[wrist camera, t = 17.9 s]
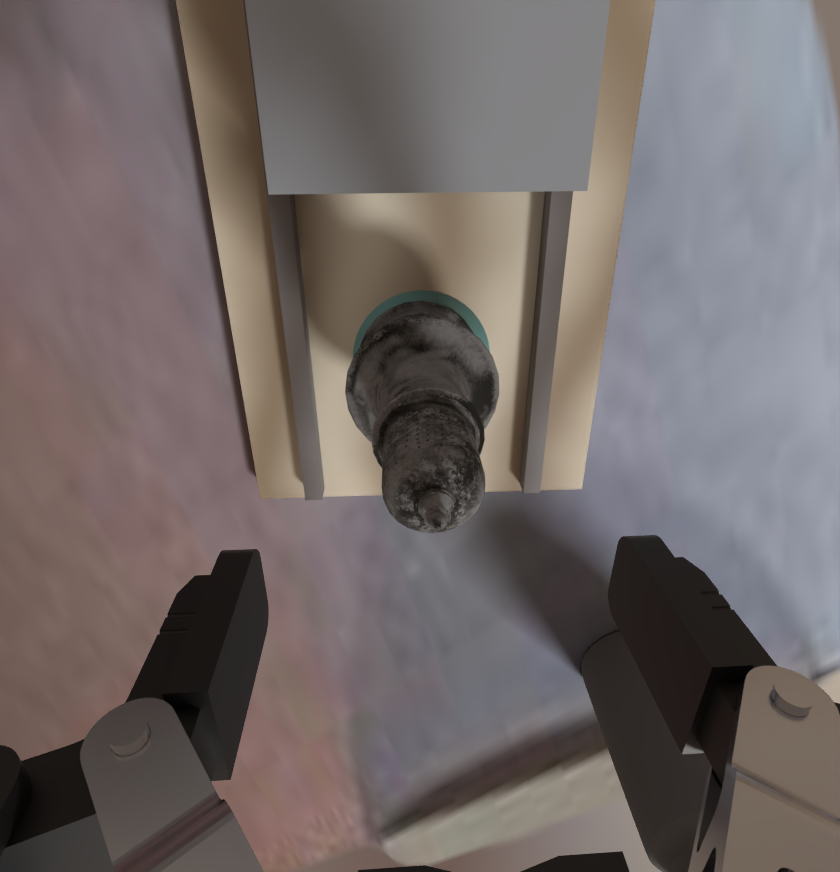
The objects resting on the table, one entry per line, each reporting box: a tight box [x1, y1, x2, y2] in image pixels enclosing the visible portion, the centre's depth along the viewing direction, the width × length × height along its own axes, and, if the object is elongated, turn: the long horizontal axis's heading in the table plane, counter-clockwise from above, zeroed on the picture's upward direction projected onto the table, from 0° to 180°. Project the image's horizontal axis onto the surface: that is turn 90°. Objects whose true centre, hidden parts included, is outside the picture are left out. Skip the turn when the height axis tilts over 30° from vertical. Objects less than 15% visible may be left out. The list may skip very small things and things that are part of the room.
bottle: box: [581, 631, 711, 872], centre depth 28 cm, size 6×6×15 cm
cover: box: [245, 0, 610, 195], centre depth 16 cm, size 9×8×6 cm
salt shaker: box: [345, 301, 499, 533], centre depth 19 cm, size 6×6×12 cm
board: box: [176, 0, 655, 500], centre depth 23 cm, size 16×20×2 cm
